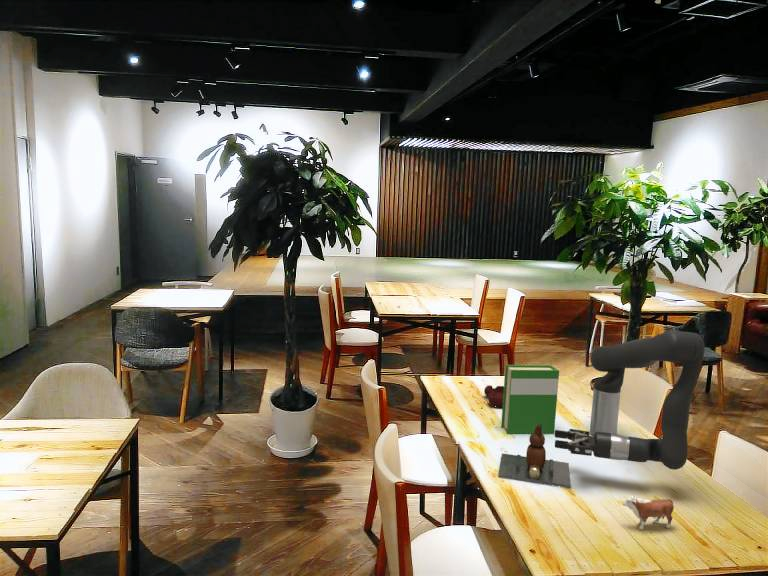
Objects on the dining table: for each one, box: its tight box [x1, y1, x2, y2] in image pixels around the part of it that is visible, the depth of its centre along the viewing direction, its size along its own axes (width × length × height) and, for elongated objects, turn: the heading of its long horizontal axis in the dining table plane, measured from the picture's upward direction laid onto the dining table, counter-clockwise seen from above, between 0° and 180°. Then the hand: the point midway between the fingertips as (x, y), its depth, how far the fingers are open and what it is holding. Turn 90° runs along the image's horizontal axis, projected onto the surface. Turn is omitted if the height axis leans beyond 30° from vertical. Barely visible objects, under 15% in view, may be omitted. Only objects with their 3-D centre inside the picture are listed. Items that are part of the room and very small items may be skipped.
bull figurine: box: [622, 495, 675, 531], centre depth 149 cm, size 4×13×8 cm, turn 95°
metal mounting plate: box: [497, 453, 572, 489], centre depth 179 cm, size 16×21×4 cm
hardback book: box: [500, 364, 560, 435], centre depth 212 cm, size 18×7×24 cm, turn 96°
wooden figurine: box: [525, 424, 547, 470], centre depth 178 cm, size 7×6×15 cm
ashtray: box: [483, 385, 504, 408], centre depth 244 cm, size 18×16×5 cm
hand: (554, 438), depth 176 cm, fingers open, 8 cm apart
